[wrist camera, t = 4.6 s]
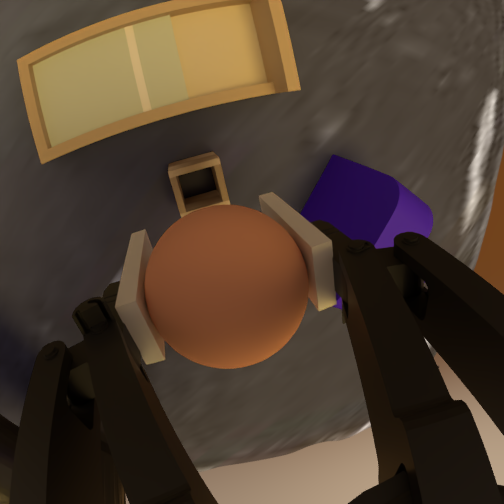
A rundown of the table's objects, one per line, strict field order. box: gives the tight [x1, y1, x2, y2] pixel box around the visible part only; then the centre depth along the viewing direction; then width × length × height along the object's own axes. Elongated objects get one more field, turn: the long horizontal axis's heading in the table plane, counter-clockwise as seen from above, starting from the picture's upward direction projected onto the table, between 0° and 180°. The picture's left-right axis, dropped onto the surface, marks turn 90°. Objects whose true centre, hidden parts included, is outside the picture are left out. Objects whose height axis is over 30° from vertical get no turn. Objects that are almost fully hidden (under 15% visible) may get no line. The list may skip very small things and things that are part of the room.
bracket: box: [300, 155, 433, 309], centre depth 30 cm, size 18×11×12 cm, turn 61°
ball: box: [144, 204, 309, 369], centre depth 12 cm, size 6×6×6 cm
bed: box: [17, 0, 301, 164], centre depth 20 cm, size 22×10×5 cm, turn 101°
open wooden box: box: [168, 151, 230, 218], centre depth 26 cm, size 4×4×4 cm
